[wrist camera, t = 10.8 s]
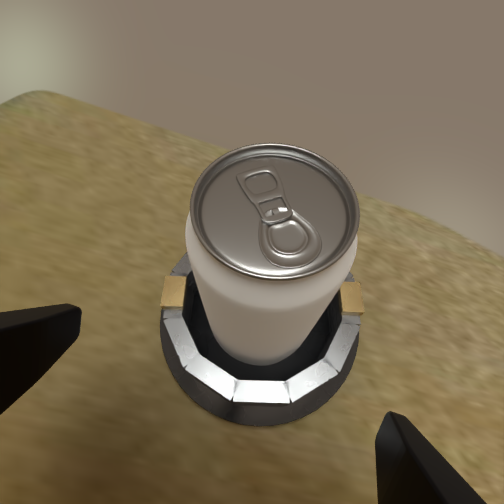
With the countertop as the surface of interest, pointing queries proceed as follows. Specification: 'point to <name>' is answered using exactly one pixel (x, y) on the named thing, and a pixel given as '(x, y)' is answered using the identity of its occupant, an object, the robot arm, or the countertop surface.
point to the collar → (253, 376)
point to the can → (269, 246)
